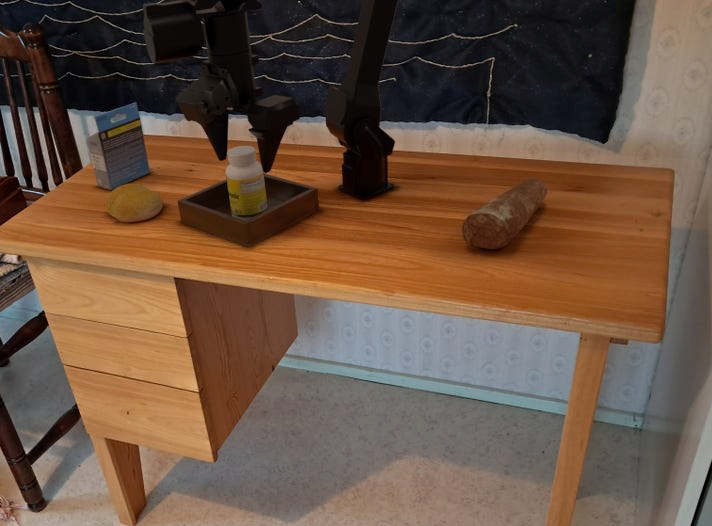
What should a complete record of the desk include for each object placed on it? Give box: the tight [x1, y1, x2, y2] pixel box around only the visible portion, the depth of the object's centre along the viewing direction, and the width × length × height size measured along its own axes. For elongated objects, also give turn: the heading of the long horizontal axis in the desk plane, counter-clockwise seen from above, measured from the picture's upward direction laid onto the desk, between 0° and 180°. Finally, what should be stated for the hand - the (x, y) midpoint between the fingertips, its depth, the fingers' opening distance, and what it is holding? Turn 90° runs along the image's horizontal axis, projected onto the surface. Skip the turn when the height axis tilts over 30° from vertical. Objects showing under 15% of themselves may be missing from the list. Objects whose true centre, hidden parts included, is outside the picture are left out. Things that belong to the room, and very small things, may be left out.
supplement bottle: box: [225, 145, 268, 221], centre depth 107 cm, size 5×5×10 cm
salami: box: [461, 178, 548, 250], centre depth 98 cm, size 6×19×6 cm, turn 144°
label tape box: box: [86, 101, 151, 191], centre depth 123 cm, size 9×4×12 cm, turn 141°
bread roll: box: [104, 183, 164, 223], centre depth 113 cm, size 8×9×4 cm
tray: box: [177, 173, 320, 248], centre depth 109 cm, size 15×15×4 cm
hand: (244, 166), depth 105 cm, fingers open, 9 cm apart
